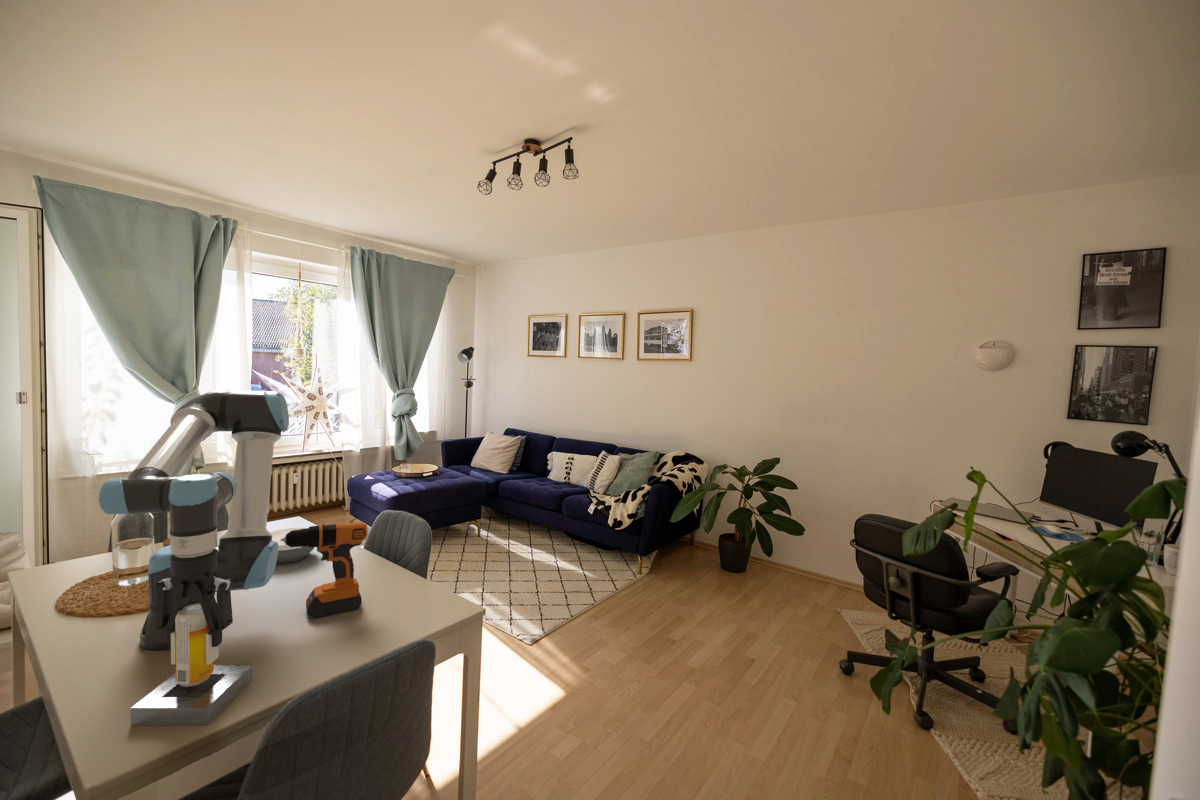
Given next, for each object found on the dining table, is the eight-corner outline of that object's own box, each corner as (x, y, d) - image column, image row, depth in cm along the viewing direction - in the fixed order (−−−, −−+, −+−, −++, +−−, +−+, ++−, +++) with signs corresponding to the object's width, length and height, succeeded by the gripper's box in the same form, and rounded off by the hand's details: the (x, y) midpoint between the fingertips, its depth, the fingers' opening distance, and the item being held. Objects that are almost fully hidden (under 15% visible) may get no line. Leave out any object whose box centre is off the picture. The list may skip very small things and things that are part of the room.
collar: (130, 725, 97) (130, 708, 97) (185, 680, 111) (185, 665, 111) (206, 724, 98) (206, 707, 98) (251, 680, 112) (251, 665, 112)
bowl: (267, 550, 186) (267, 528, 186) (324, 547, 192) (324, 526, 191) (249, 570, 168) (249, 546, 168) (312, 566, 174) (312, 543, 173)
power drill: (280, 625, 135) (280, 534, 134) (280, 614, 141) (280, 526, 140) (368, 607, 147) (369, 524, 145) (364, 597, 153) (365, 517, 151)
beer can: (220, 670, 108) (220, 602, 107) (198, 688, 101) (198, 616, 100) (191, 669, 107) (190, 601, 106) (167, 688, 101) (167, 615, 100)
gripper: (128, 557, 98) (130, 671, 100) (230, 559, 100) (231, 671, 101) (159, 544, 106) (161, 650, 107) (254, 545, 107) (254, 650, 109)
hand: (195, 660), depth 104 cm, fingers closed on beer can, 6 cm apart
